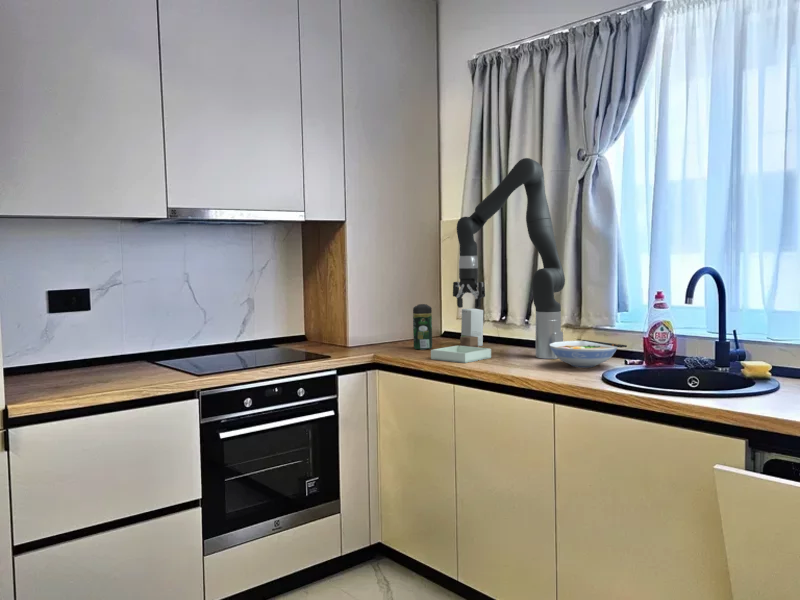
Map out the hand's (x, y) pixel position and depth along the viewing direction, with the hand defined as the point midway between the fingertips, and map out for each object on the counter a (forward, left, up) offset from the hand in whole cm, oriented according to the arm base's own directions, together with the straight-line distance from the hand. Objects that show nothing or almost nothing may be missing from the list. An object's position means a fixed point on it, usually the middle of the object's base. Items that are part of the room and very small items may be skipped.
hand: (468, 307), depth 274 cm
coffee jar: (+21, +4, -18) cm, 28 cm away
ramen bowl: (-53, +6, -18) cm, 56 cm away
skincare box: (+11, -17, -18) cm, 27 cm away
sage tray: (-9, +17, -18) cm, 26 cm away
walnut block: (0, 0, -18) cm, 18 cm away
